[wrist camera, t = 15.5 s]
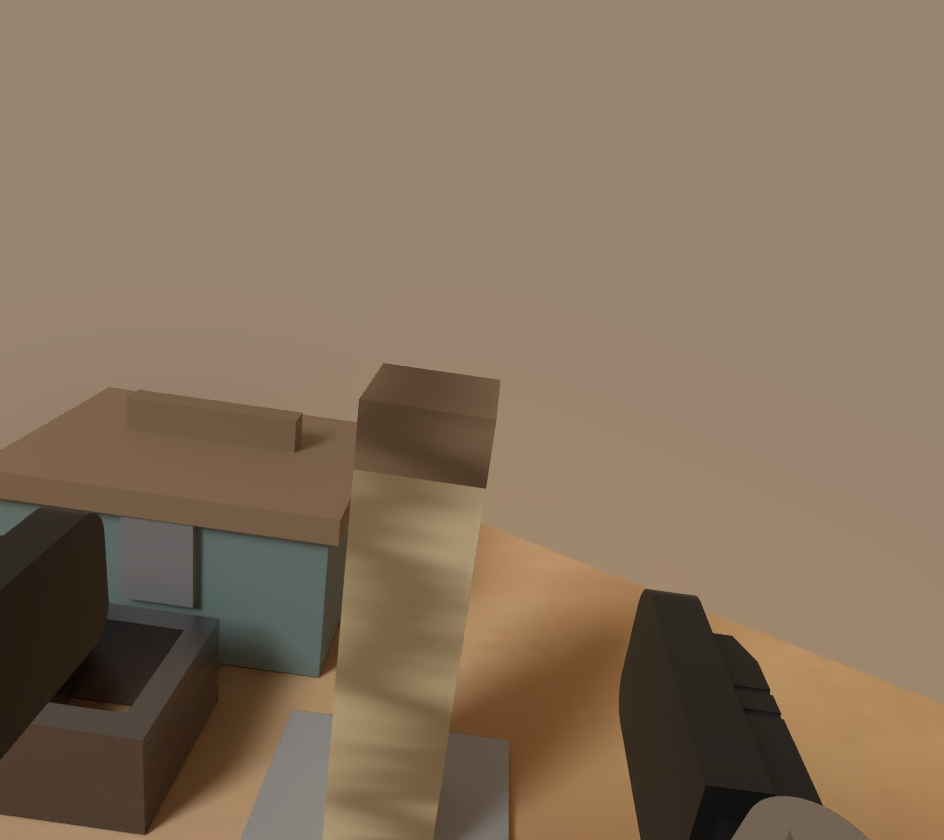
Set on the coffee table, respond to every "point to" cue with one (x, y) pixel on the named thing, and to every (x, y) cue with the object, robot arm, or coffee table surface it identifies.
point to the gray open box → (118, 724)
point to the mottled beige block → (405, 597)
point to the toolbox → (204, 513)
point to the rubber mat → (306, 771)
